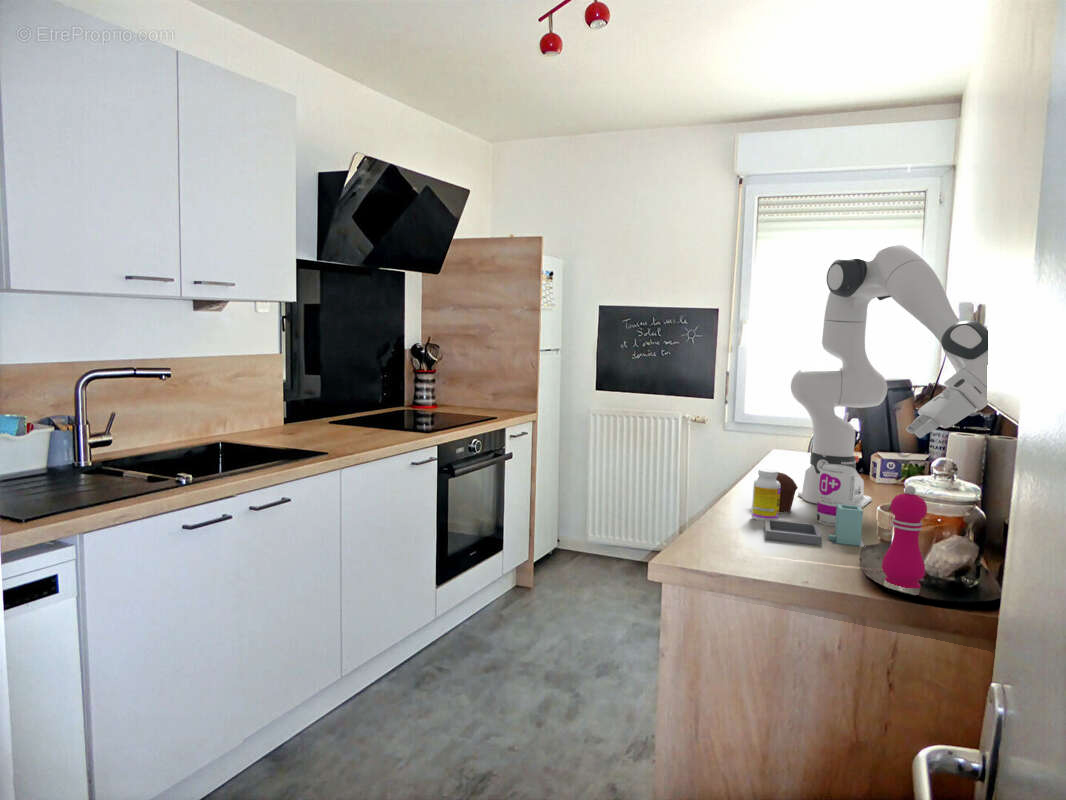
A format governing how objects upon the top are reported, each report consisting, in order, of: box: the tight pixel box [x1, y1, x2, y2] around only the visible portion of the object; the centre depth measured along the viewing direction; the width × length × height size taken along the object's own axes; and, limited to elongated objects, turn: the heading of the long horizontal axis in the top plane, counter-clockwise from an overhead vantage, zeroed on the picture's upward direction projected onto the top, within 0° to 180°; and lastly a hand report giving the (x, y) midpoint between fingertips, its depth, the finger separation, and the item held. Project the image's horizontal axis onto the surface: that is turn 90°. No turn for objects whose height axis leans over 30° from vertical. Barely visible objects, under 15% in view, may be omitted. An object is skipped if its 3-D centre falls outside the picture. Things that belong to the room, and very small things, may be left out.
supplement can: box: [815, 464, 855, 527], centre depth 186 cm, size 8×8×15 cm
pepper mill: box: [881, 485, 928, 589], centre depth 136 cm, size 7×7×20 cm
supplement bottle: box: [751, 468, 781, 522], centre depth 188 cm, size 7×7×13 cm
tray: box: [764, 519, 823, 547], centre depth 171 cm, size 12×12×2 cm
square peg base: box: [830, 539, 865, 548], centre depth 169 cm, size 7×7×4 cm
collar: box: [827, 504, 864, 545], centre depth 169 cm, size 5×6×8 cm
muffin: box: [757, 471, 799, 513], centre depth 201 cm, size 12×11×10 cm
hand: (912, 433), depth 163 cm, fingers open, 8 cm apart
